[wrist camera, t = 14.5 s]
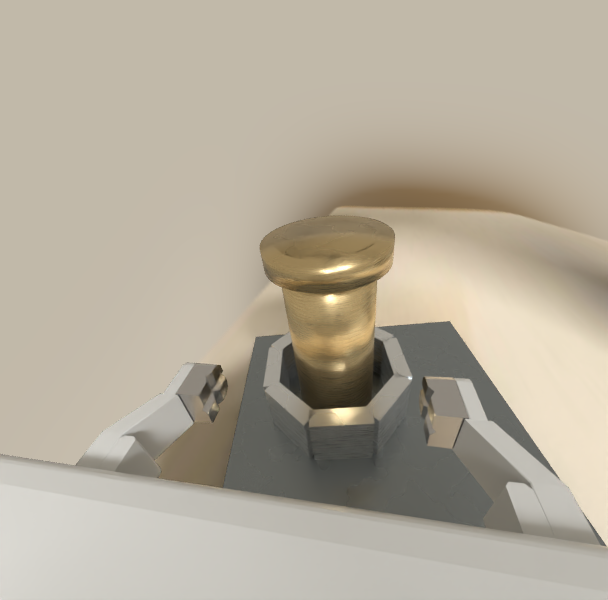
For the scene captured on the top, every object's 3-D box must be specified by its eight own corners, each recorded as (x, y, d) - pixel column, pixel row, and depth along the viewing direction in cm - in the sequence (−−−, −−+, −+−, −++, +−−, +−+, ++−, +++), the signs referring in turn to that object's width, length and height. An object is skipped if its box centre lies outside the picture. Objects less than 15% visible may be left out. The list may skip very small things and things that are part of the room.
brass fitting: (395, 380, 20) (413, 221, 14) (357, 456, 16) (357, 280, 9) (321, 351, 24) (307, 211, 17) (274, 408, 19) (231, 253, 13)
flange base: (447, 329, 26) (457, 288, 23) (647, 631, 11) (737, 610, 8) (258, 344, 27) (247, 307, 24) (198, 636, 12) (155, 617, 9)
